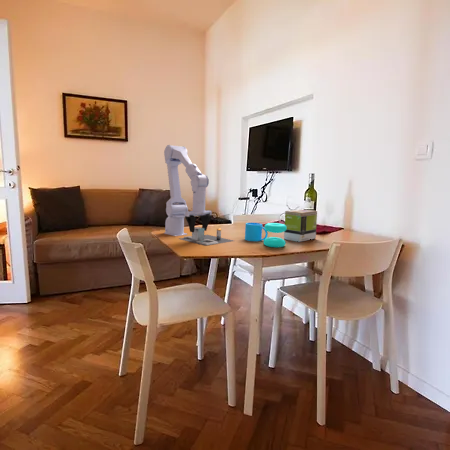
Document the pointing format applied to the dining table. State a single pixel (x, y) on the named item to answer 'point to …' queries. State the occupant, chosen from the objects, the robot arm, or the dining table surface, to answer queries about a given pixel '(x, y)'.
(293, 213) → the tea box
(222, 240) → the mat
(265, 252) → the dining table surface
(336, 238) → the dining table surface
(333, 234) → the dining table surface
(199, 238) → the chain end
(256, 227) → the mug
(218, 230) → the pin
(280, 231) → the donuts
